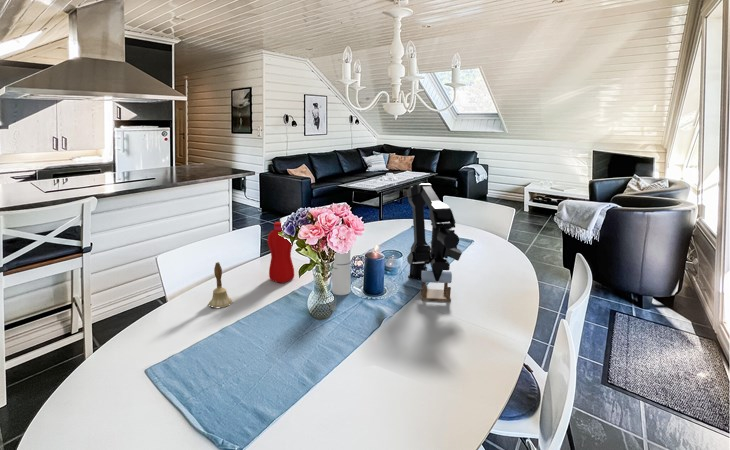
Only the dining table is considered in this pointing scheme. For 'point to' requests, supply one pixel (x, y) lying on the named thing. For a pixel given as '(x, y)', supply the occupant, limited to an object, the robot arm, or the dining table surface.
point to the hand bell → (219, 290)
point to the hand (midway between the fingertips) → (436, 278)
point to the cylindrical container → (341, 274)
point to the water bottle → (280, 256)
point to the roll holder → (436, 293)
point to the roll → (429, 277)
